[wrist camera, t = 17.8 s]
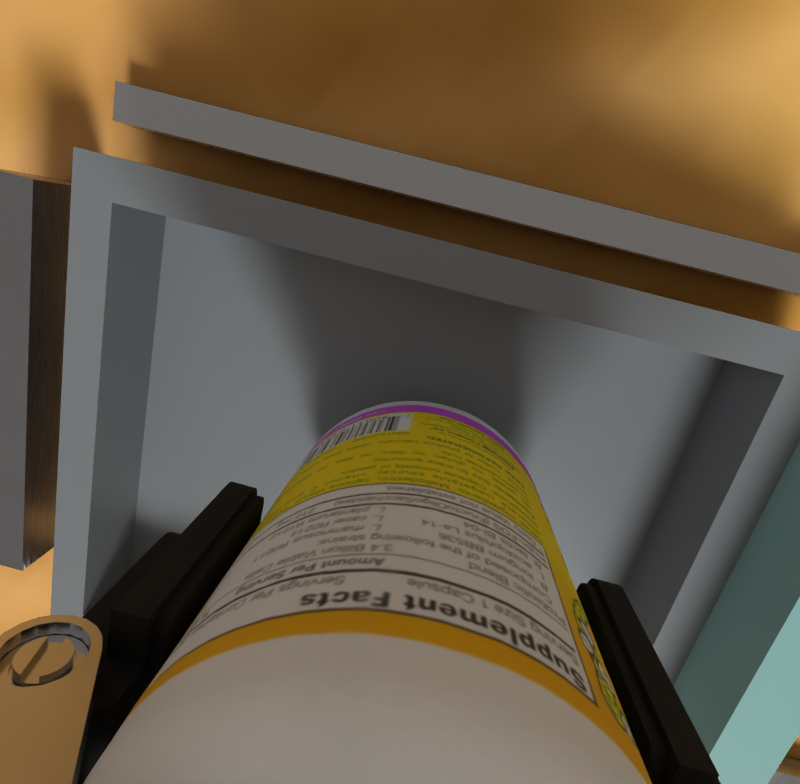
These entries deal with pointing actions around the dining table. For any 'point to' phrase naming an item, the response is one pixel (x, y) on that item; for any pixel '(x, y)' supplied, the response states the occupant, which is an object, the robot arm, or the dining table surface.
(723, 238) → the rails
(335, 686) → the supplement bottle
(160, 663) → the robot arm
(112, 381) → the drawer
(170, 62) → the dining table surface
